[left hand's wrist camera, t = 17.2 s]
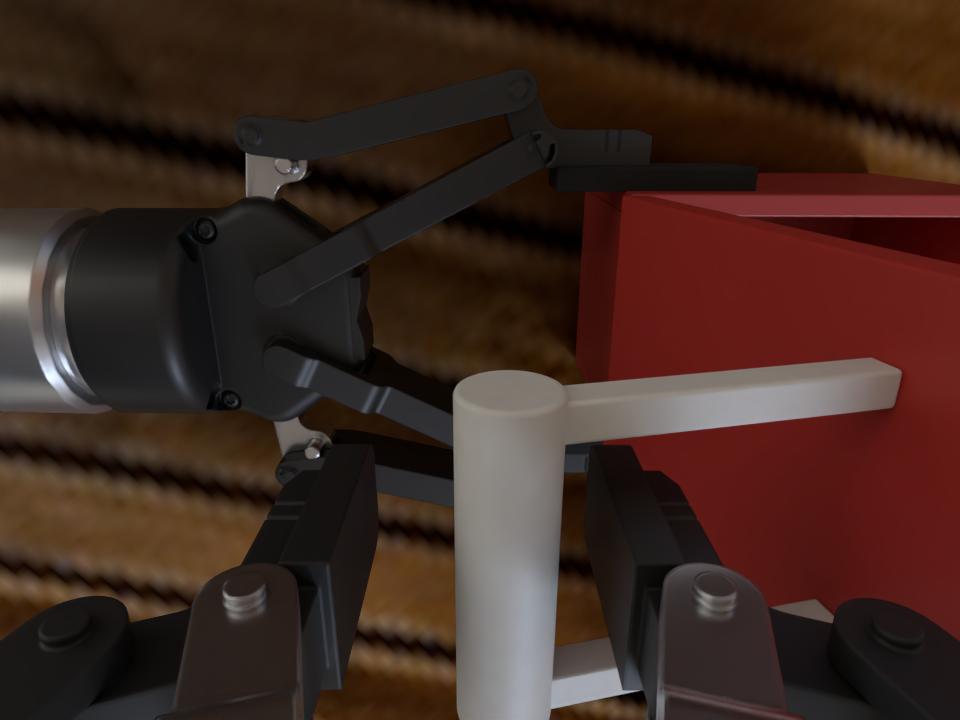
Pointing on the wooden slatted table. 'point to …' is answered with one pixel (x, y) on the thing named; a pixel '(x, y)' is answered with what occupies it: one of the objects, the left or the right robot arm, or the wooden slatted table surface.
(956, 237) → the chest
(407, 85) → the wooden slatted table surface
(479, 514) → the lid
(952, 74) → the wooden slatted table surface
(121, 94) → the wooden slatted table surface
